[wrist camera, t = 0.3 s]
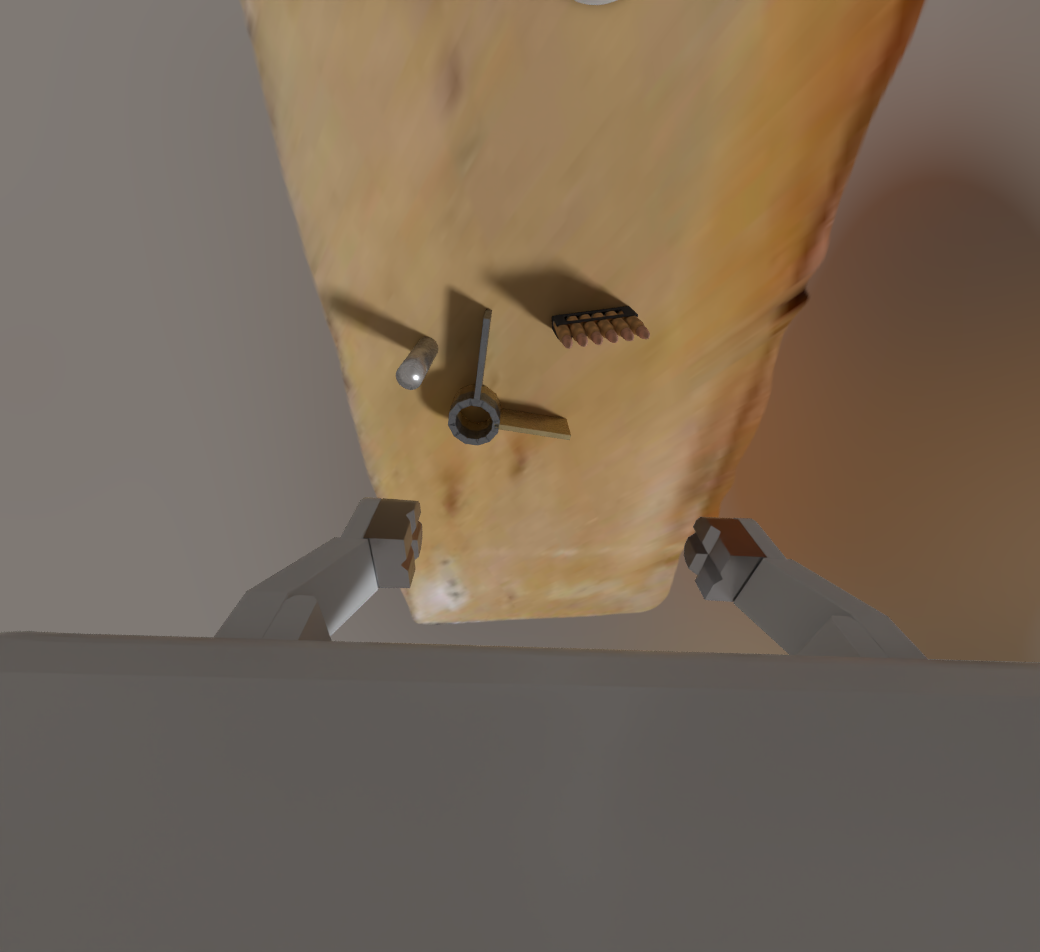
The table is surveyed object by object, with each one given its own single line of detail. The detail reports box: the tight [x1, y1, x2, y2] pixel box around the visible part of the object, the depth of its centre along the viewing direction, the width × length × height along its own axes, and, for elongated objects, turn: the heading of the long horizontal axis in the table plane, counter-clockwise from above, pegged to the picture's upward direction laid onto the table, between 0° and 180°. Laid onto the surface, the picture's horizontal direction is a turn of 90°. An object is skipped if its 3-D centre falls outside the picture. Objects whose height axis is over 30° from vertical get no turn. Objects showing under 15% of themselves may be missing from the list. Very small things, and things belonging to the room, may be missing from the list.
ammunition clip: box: [552, 306, 650, 349], centre depth 46 cm, size 11×2×12 cm, turn 97°
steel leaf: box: [448, 309, 500, 445], centre depth 53 cm, size 18×7×6 cm, turn 170°
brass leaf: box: [452, 384, 571, 440], centre depth 57 cm, size 7×18×6 cm, turn 80°
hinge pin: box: [396, 337, 438, 390], centre depth 48 cm, size 3×3×12 cm
